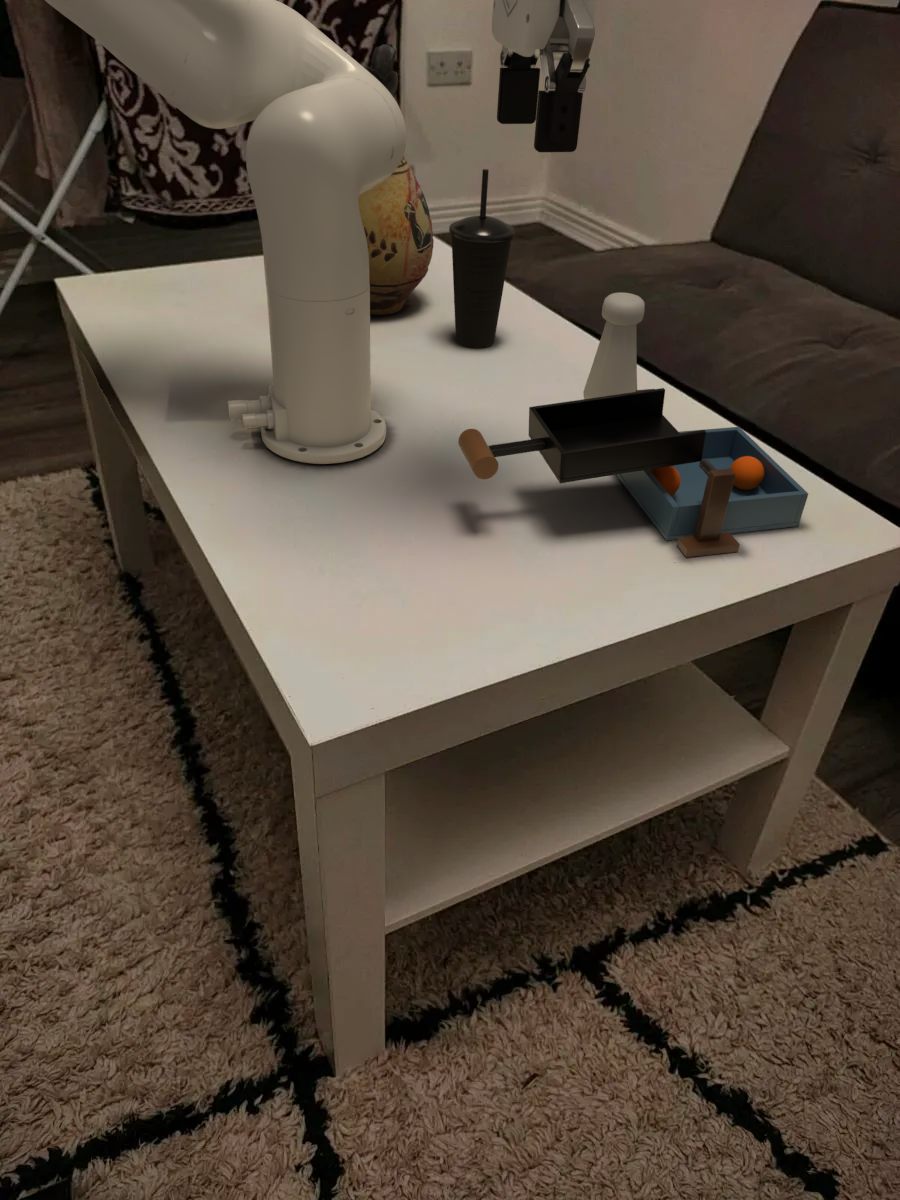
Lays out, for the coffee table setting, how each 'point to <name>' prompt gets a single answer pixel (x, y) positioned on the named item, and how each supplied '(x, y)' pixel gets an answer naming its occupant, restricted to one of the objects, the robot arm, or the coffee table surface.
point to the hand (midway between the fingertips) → (534, 136)
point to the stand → (711, 515)
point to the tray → (747, 509)
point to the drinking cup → (479, 273)
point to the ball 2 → (747, 472)
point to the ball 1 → (667, 478)
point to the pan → (594, 438)
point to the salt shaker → (616, 348)
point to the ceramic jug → (394, 220)
